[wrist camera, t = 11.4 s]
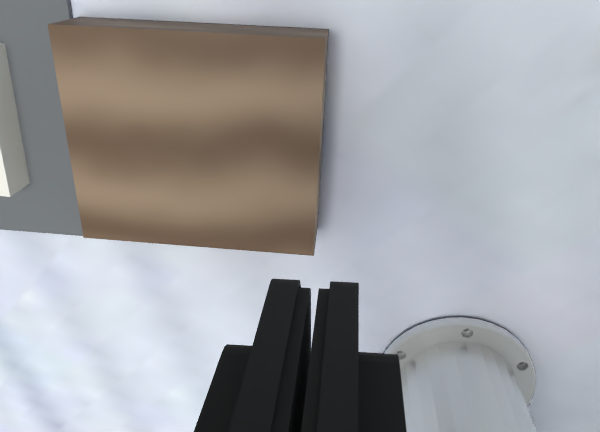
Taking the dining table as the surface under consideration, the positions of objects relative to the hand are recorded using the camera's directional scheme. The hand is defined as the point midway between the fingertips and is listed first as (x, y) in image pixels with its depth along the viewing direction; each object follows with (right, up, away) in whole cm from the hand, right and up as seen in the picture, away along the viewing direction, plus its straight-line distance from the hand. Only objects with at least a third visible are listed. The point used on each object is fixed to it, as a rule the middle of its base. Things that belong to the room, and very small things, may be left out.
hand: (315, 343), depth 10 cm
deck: (-7, +8, +26) cm, 28 cm away
